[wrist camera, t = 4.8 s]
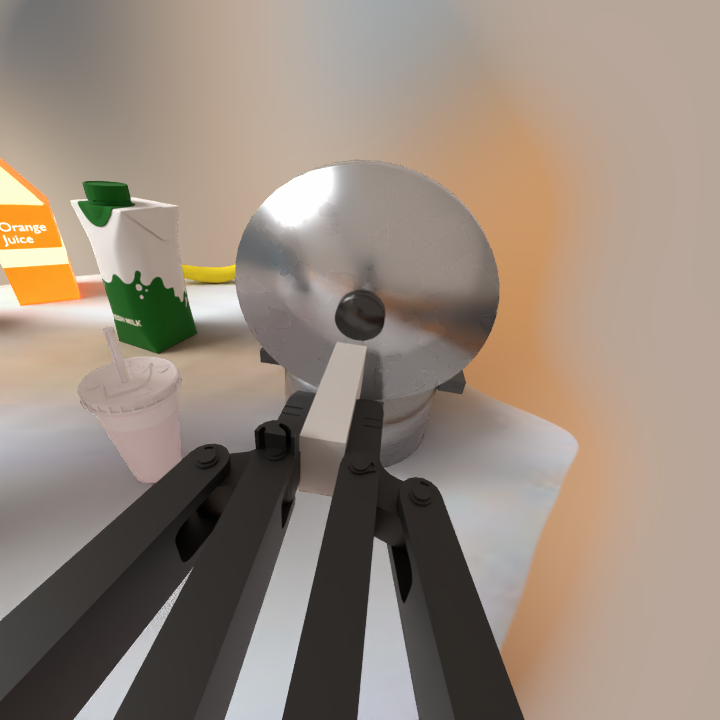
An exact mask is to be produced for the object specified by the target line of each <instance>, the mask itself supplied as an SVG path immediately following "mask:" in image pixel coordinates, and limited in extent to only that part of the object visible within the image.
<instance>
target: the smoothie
mask: <svg viewBox="0 0 720 720" xmlns="http://www.w3.org/2000/svg"><path fill="white" fill-rule="evenodd" d="M103 330H104V333H105V336H106V339H107V342H108V345H109V348H110V351H111V354H112V357H113V360H114V362H111V363H108V364H105V365H103V366H101V367H99V368H97V369H95V370H94V371H92V372H90V373H89V374H88V375H87V376H85V377H84V378H83V380H82V381H81V382H80V384H79V386H78V390H77V391H78V395H79V397H80V399H81V404H82V405H83V407H84V409H86V410H88V411H90V412H91V413H94V415H95V416H96V418H97V420H98V421H99V423H100V424H101V425H102V427H103V428H104V430H105V432H106V433H107V435H108V436H109V438H110V439H111V441H112V442H113V444H114V445H115V447H116V448H117V450H118V451H119V453H120V455H121V456H122V458H123V459H124V461H125V462H126V464H127V465H128V467H129V468H130V470H131V471H132V473H133V474H134V476H135V478H136V479H137V480H138V481H140V482H143V483H156V482H158V481H159V480H160V479H161V478H162V477H163V476H164V475H165V474H167V473H168V472H169V471H170V470H171V469H172V468H173V467H174V466H176V465H177V464H178V463H179V462H180V461H181V460H182V455H181V438H180V421H179V404H178V402H179V401H178V389H179V388H180V386H181V381H182V379H181V377H180V374H179V370H178V368H177V366H176V365H175V364H174V363H173V362H171V361H169V360H166V359H163V358H159V357H150V356H143V357H131V358H126V359H123V356H122V353H121V350H120V347H119V344H118V340H117V337H116V334H115V331H114V328H113V327H106V328H104V329H103Z"/></svg>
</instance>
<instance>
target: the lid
mask: <svg viewBox="0 0 720 720" xmlns="http://www.w3.org/2000/svg"><path fill="white" fill-rule="evenodd" d="M235 281H236V290H237V296H238V300H239V303H240V307H241V310H242V312H243V315H244V317H245V320H246V322H247V324H248V326H249V328H250V329H251V331H252V333H253V335H254V336H255V337H256V339H257V340H258V342H259V343H260V345H261V346H262V347H263V348H264V349H265V350H266V351H267V353H268V354H269V355H270V356H271V357H272V358H273V359H274V360H275V361H276V362H278V363H279V364H280V365H281V366H282V367H284V368H285V369H286V370H287V371H289V372H290V373H292V374H293V375H295V376H296V377H298V378H299V379H301V380H303V381H305V382H307V383H309V384H311V385H313V386H315V387H317V388H319V385H320V383H321V380H322V378H323V375H324V373H325V370H326V368H327V365H328V363H329V360H330V358H331V355H332V353H333V350H334V348H335V345H336V343H337V342H341V343H348V344H354V345H361V346H367V349H366V357H365V364H364V372H363V379H362V387H361V393H360V398H359V399H367V400H385V399H396V398H402V397H407V396H411V395H415V394H419V393H422V392H424V391H427V390H430V389H432V388H434V387H436V386H438V385H440V384H442V383H444V382H446V381H447V380H449V379H450V378H452V377H453V376H455V375H456V374H457V373H459V372H460V371H461V370H462V369H464V368H465V367H466V366H467V365H468V364H469V363H470V361H472V359H473V358H474V357H475V356H476V355H477V354H478V352H479V351H480V349H481V348H482V347H483V345H484V344H485V342H486V340H487V338H488V336H489V334H490V332H491V330H492V327H493V324H494V321H495V318H496V314H497V309H498V304H499V278H498V270H497V265H496V262H495V259H494V256H493V252H492V249H491V248H490V244H489V242H488V240H487V238H486V236H485V234H484V232H483V230H482V228H481V226H480V224H479V223H478V221H477V220H476V219H475V217H474V216H473V214H472V213H471V211H470V210H469V209H468V208H467V207H466V206H465V205H464V204H463V203H462V202H461V201H460V200H459V199H458V198H457V197H456V196H455V195H454V194H453V193H451V192H450V191H449V190H448V189H446V188H445V187H444V186H442V185H441V184H440V183H438V182H436V181H435V180H433V179H431V178H429V177H427V176H426V175H424V174H422V173H419V172H417V171H414V170H411V169H409V168H406V167H404V166H401V165H396V164H392V163H387V162H382V161H370V160H351V161H342V162H335V163H331V164H327V165H323V166H320V167H316V168H314V169H312V170H309V171H307V172H305V173H302V174H300V175H298V176H297V177H295V178H294V179H292V180H291V181H289V182H287V183H286V184H285V185H283V186H282V187H280V188H279V189H278V190H277V191H276V192H274V193H273V194H272V195H271V196H270V197H269V198H268V199H267V200H266V201H265V202H263V203H262V205H261V206H260V207H259V209H258V210H257V211H256V213H255V214H254V215H253V216H252V218H251V220H250V222H249V223H248V225H247V227H246V229H245V231H244V233H243V236H242V239H241V241H240V244H239V247H238V253H237V258H236V265H235Z"/></svg>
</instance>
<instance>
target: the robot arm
mask: <svg viewBox="0 0 720 720" xmlns="http://www.w3.org/2000/svg"><path fill="white" fill-rule="evenodd" d="M366 349H367V346H361V345H354V344H348V343H341V342H337V343H336V345H335V348H334V350H333V353H332V355H331V358H330V360H329V363H328V365H327V368H326V370H325V373H324V375H323V378H322V380H321V383H320V385H319V388H318V390H317V393H311V392H305V391H299V390H298V391H296V392H295V393H294V394H293V395H291V396H290V397H289V399H288V401H287V403H286V405H285V407H284V409H283V410H282V413H281V414H280V416H279V418H278V420H272V421H268V422H265V423H263V424H261V425H259V426H258V427H257V429H256V430H255V443H256V449H255V450H252V451H249V452H243V453H232V454H229V452H228V450H227V449H226V448H225V447H223V446H222V445H218V444H206V445H203V446H200V447H198V448H196V449H195V450H193V451H192V452H190V453H189V454H188V455H187V456H186V457H185V458H183V459H182V460H181V461H180V462H179V463H178V464H177V465H176V466H174V467H173V468H172V469H171V470H170V471H169V472H168V473H167V474H165V475H164V476H163V477H162V478H161V479H160V480H159V481H158V482H156V483H155V484H154V485H153V486H152V487H151V488H150V489H149V490H147V491H146V492H145V493H144V494H143V495H142V496H141V497H140V498H138V499H137V500H136V501H135V502H134V503H133V504H132V505H131V506H129V507H128V508H127V509H126V510H125V511H124V512H123V513H122V514H120V515H119V516H118V517H117V518H116V519H115V520H114V521H112V522H111V523H110V524H109V525H108V526H107V527H106V528H105V529H103V530H102V531H101V532H100V533H99V534H98V535H97V536H96V537H94V538H93V539H92V540H91V541H90V542H89V543H88V544H87V545H85V546H84V547H83V548H82V549H81V550H80V551H79V552H78V553H76V554H75V555H74V556H73V557H72V558H71V559H70V560H69V561H67V562H66V563H65V564H64V565H63V566H62V567H61V568H60V569H58V570H57V571H56V572H55V573H54V574H53V575H52V576H51V577H49V578H48V579H47V580H46V581H45V582H44V583H43V584H42V585H40V586H39V587H38V588H37V589H36V590H35V591H34V592H33V593H31V594H30V595H29V596H28V597H27V598H26V599H25V600H24V601H22V602H21V603H20V604H19V605H18V606H17V607H16V608H15V609H13V610H12V611H11V612H10V613H9V614H8V615H7V616H5V617H4V618H3V619H2V620H1V621H0V720H73V719H74V718H75V717H76V716H77V714H78V713H79V712H80V710H81V709H82V708H83V707H84V705H85V704H86V703H87V702H88V700H89V699H90V698H91V696H92V695H93V694H94V693H95V691H96V690H97V689H98V688H99V686H100V685H101V684H102V683H103V681H104V680H105V679H106V677H107V676H108V675H109V674H110V672H111V671H112V670H113V669H114V667H115V666H116V665H117V663H118V662H119V661H120V660H121V658H122V657H123V656H124V655H125V653H126V652H127V651H128V649H129V648H130V647H131V646H132V644H133V643H134V642H135V641H136V639H137V638H138V637H139V635H140V634H141V633H142V632H143V630H144V629H145V628H146V627H147V625H148V624H149V623H150V622H151V620H152V619H153V618H154V616H155V615H156V614H157V613H158V611H159V610H160V609H161V608H162V606H163V605H164V604H165V602H166V601H167V600H168V599H169V597H170V596H171V595H172V594H173V592H174V591H175V590H176V588H177V587H178V586H179V585H180V583H181V582H182V581H183V580H184V578H185V577H186V576H187V574H188V573H189V572H190V571H191V569H192V568H193V569H192V571H191V573H190V575H189V577H188V579H187V581H186V583H185V585H184V586H183V588H182V590H181V592H180V594H179V596H178V598H177V600H176V602H175V603H174V605H173V607H172V609H171V611H170V613H169V615H168V617H167V619H166V621H165V622H164V624H163V626H162V628H161V630H160V632H159V634H158V636H157V638H156V639H155V641H154V643H153V645H152V647H151V649H150V651H149V653H148V655H147V657H146V658H145V660H144V662H143V664H142V666H141V668H140V670H139V672H138V674H137V675H136V677H135V679H134V681H133V683H132V685H131V687H130V689H129V691H128V693H127V694H126V696H125V698H124V700H123V702H122V704H121V706H120V708H119V710H118V711H117V713H116V715H115V717H114V719H113V720H224V719H225V716H226V713H227V710H228V707H229V704H230V701H231V698H232V695H233V692H234V689H235V686H236V683H237V680H238V677H239V673H240V670H241V667H242V664H243V661H244V658H245V655H246V652H247V649H248V646H249V643H250V640H251V637H252V634H253V631H254V628H255V624H256V621H257V618H258V615H259V612H260V609H261V606H262V603H263V600H264V597H265V594H266V591H267V588H268V585H269V582H270V579H271V576H272V572H273V569H274V566H275V563H276V560H277V557H278V554H279V551H280V548H281V545H282V542H283V539H284V536H285V533H286V530H287V527H288V524H289V520H290V517H291V514H292V511H293V508H294V505H295V493H296V490H297V487H298V484H299V491H304V492H310V493H316V494H322V495H327V496H333V497H332V501H331V506H330V510H329V514H328V519H327V523H326V528H325V532H324V537H323V541H322V545H321V550H320V554H319V559H318V563H317V567H316V572H315V576H314V581H313V585H312V589H311V594H310V598H309V603H308V607H307V612H306V616H305V620H304V625H303V629H302V634H301V638H300V642H299V647H298V651H297V656H296V660H295V664H294V669H293V673H292V678H291V682H290V686H289V691H288V695H287V700H286V704H285V709H284V713H283V717H282V720H357V715H358V704H359V693H360V682H361V671H362V660H363V649H364V638H365V627H366V616H367V605H368V594H369V583H370V572H371V561H372V550H373V539H374V536H375V537H376V538H378V539H380V540H382V541H384V542H385V543H387V547H388V553H389V558H390V564H391V569H392V575H393V580H394V586H395V591H396V596H397V602H398V607H399V613H400V618H401V624H402V629H403V635H404V640H405V646H406V651H407V656H408V662H409V667H410V673H411V678H412V684H413V689H414V695H415V700H416V706H417V711H418V716H419V720H524V718H523V715H522V712H521V710H520V707H519V704H518V702H517V699H516V696H515V693H514V691H513V688H512V685H511V682H510V680H509V677H508V674H507V672H506V669H505V666H504V664H503V661H502V658H501V655H500V653H499V650H498V647H497V644H496V642H495V639H494V636H493V634H492V631H491V628H490V626H489V623H488V620H487V617H486V615H485V612H484V609H483V607H482V604H481V601H480V598H479V596H478V593H477V590H476V588H475V585H474V582H473V580H472V577H471V574H470V571H469V569H468V566H467V563H466V561H465V558H464V555H463V552H462V550H461V547H460V544H459V542H458V539H457V536H456V534H455V531H454V528H453V525H452V523H451V520H450V517H449V515H448V512H447V509H446V506H445V504H444V501H443V498H442V496H441V494H440V492H439V490H438V488H437V487H436V486H435V485H434V484H432V483H431V482H430V481H428V480H425V479H423V478H417V477H414V478H409V479H407V480H405V481H402V480H400V479H397V478H395V477H394V476H392V475H390V474H389V473H388V472H387V471H386V470H385V469H384V468H383V466H382V464H381V462H380V450H381V439H382V428H383V417H384V410H383V408H382V406H381V404H380V403H379V402H373V401H366V400H360V399H359V398H360V393H361V387H362V379H363V372H364V364H365V357H366Z"/></svg>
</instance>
